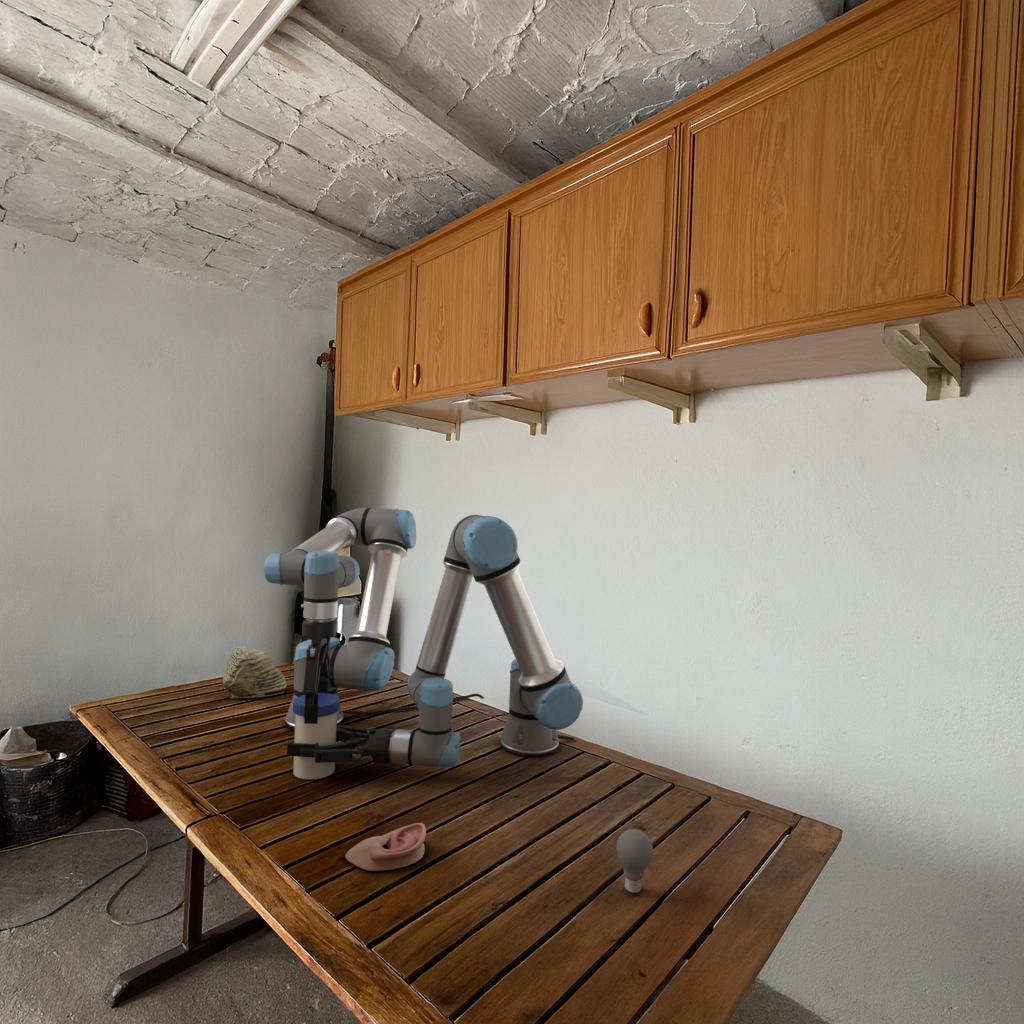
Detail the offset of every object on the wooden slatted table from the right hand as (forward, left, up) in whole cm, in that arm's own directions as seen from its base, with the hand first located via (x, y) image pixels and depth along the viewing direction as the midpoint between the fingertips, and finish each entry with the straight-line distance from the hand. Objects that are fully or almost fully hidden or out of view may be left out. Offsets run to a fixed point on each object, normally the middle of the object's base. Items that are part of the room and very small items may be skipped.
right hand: (296, 740), depth 146 cm
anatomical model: (-13, +41, -7) cm, 44 cm away
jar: (-4, +2, -7) cm, 8 cm away
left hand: (-4, +2, +6) cm, 8 cm away
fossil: (+8, -59, -7) cm, 60 cm away
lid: (-4, +2, +10) cm, 10 cm away
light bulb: (-49, +65, -7) cm, 82 cm away
